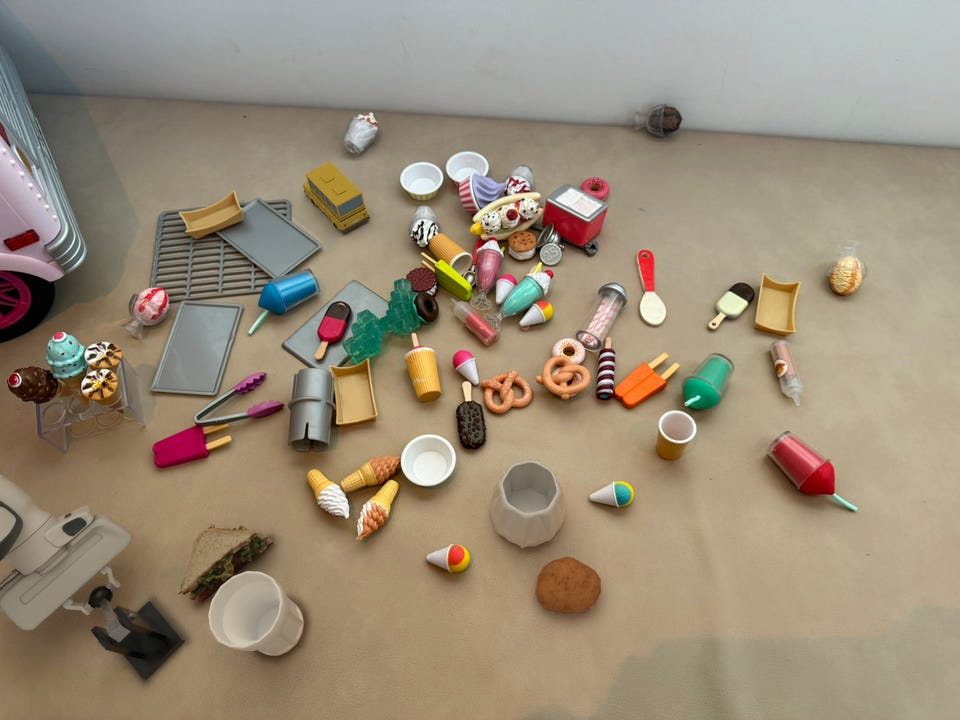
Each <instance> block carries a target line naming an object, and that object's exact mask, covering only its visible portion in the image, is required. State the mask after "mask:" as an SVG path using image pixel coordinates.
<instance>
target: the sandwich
mask: <svg viewBox="0 0 960 720" xmlns="http://www.w3.org/2000/svg"><path fill="white" fill-rule="evenodd" d="M274 542H275V541H274V540H273V539H271V538H269V537H268V535H267V534H265V533H263V532H257V531H256V530H253V529H250V528H246V527H245V526H243V525H238V529H237V527H234V528H232V529H229V528H219V527H216V526H215V524H213V523H211V524H209V527H207V528H203V529H202V530H201V531H200V532H199V533H198V534H196V536H195V538H194V540H193V542H192V550H191V554H190V559H189V564H188V567H187V572H186V574H185V577H184V578H183V579H182V581H181V584H180V591H179V592H178V595H181V594H182V595H184V596H186V595H187V594H189V593H190V594H189V598H188V599H189V600H191V601H195V600H197V599H198V604H199V605H202V604H203V603H204V602H205V601H206V600H207V599H208V598H209V597H210V596H211V595H212V594H214V593H215V592H216V591H218V590H219V588H220V586H222V585H223V584H224V583H225V582H227V581H228V580H229V579H230V578H232V577H233V576H235V575H237V573H239V571H240V570H241V569H243V568H244V566H246V565H247V564H249V563H252V562H253V561H256V558H257V557H258V556H259V555H260V554H262V553H264V552H265V551H266V549H269V547H271V546H272V545H273V544H274Z"/></svg>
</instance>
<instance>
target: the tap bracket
mask: <svg viewBox="0 0 960 720" xmlns="http://www.w3.org/2000/svg"><path fill="white" fill-rule="evenodd" d="M113 611H114V612H115V614H116V616H118V617H119V618H120V620H121V621H122V622H123V623H124V625H125V626H126V627H127V628H128V629H130V631H131V632H130V633H129V634H128V635H127V636H126V637H125V638H124V639H123V640H121V641H120V642H117V641H116V640H114V639H113V638H111V637H109V635H108V633H107V631H106V629H105V627H102V626H99V625H94V626H93V627H92V628H91V629H90V632H91V633H92V634H93V636H94V637H95V638H96V640H97V643H98V645H99V646H101V647H102V648H103V649H104V650H105V651H108V652H111V653H116V654H120V655H123V656H124V657H125V658H126V660H127V661H128V663H129V664H130V665H131V666H132V667H133V669H134V670H135V672H136V673H137V674H138V675H139V676H140V677H141V679H142V680H147V679H149V677H150V676H151V675H152V674H153V673H155V671H157V669H159V668H160V666H161V665H163V663H164V662H165V661H167V659H168V658H170V657H171V656H172V655H173V654H174V653H175V651H177V650H178V649H179V648H180V646H181V645H183V644H184V643H185V641H186V640H185V638H183V636H182V635H181V634H180V633H179V631H178V630H177V629H176V628H175V627H174V625H173V624H172V623H171V622H170V621H169V619H168V618H167V617H166V616H165V615H164V614H163V613H162V611H161V610H160V609H159V608H158V606H156V604H155V603H154V602H153V601H151V600H148V601H147V602H146V603H145V604H144V605H142V607H141V608H140V609H139V610H138V611H134V610H131V609H129V608H127V607H124V606H121V605H119V604H117V605H116V606H115V607H114V608H113Z"/></svg>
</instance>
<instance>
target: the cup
mask: <svg viewBox="0 0 960 720" xmlns="http://www.w3.org/2000/svg"><path fill="white" fill-rule="evenodd" d="M207 617H208V618H207V619H208V625H209V630H210V632H211V633H212V635H213V637H214V638H215V640H216V641H217V642H218V643H220V644H222V645H224V646H225V647H228V649H229V648H230V649H233V650H236V651H239V652H255V651H258V652H259V653H262V654H264V655H267V656H272V657H280V656H283V655H284V654H287V653H289V652H290V651H292V649H294V648H295V647H296V646H297V645H298V644H299V642H300V640H301V638H302V636H303V635H304V629H305V625H306V624H305V617H304V614H303V612H302V610H301V608H300V607H299V606H298V605H297V604H296V603H295V602H293V601H292V599H290V598H289V597H288V593H286V591H285V589H283V587H282V586H281V584H280V583H279V582H278V581H277V580H276V579H275V578H273V577H272V576H271V575H268V574H266V573H264V572H262V571H253V570H252V571H251V570H246V571H243V572H241V573H238V574H235V575H234V576H232V577H231V578H230V579H229V580H227V582H225V583H223V584H222V585H221V586H220V587H219V588H218V589H217V590H216V592H215V594H214V596H213V598H212V599H211V602H210V606H209V610H208V614H207Z"/></svg>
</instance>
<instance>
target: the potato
mask: <svg viewBox="0 0 960 720" xmlns="http://www.w3.org/2000/svg"><path fill="white" fill-rule="evenodd" d="M601 580H602V579H601V577H600V576H599V574H598V573H597V571H596V570H595V569H593V568H592V567H590V566H589V565H587V564H585V563H583V562H581V561H580V560H578V559H576V558H574V557H571V556H565V557H562V558H557V559H554V560H551V561H550V562H548V563H547V564H546V565H544V566H543V567H542V569H541V571H540V572H539V573H538V575H537V577H536V584H535V593H534V594H535V596H536V599H537V601H538V603H539V605H540V606H542V607H543V608H545V609H548V610H552V611H559V612H564V613H572V614H574V613H581V612H585V611H588V610H589V611H590V609H592V608H593V607H594V606H595V605H596V604H597V602H598V600H599V597H600V596H601V593H602V583H601V582H602V581H601Z"/></svg>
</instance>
